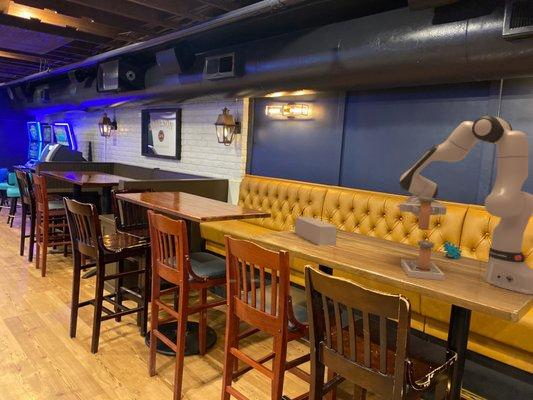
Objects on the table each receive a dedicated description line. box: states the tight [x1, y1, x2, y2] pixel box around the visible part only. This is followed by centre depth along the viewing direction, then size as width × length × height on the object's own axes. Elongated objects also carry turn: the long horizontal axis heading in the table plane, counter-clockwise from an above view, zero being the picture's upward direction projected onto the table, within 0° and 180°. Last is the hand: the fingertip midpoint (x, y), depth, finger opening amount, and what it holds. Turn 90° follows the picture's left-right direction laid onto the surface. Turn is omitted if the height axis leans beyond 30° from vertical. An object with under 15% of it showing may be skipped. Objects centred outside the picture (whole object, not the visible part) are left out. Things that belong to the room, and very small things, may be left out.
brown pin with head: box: [417, 197, 436, 231], centre depth 177 cm, size 7×7×14 cm
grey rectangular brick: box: [294, 216, 338, 246], centre depth 238 cm, size 32×11×11 cm, turn 21°
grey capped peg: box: [417, 240, 435, 271], centre depth 172 cm, size 7×7×14 cm
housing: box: [400, 258, 445, 281], centre depth 177 cm, size 20×14×4 cm
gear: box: [443, 241, 463, 260], centre depth 213 cm, size 11×6×10 cm
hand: (425, 210), depth 176 cm, fingers closed on brown pin with head, 4 cm apart
